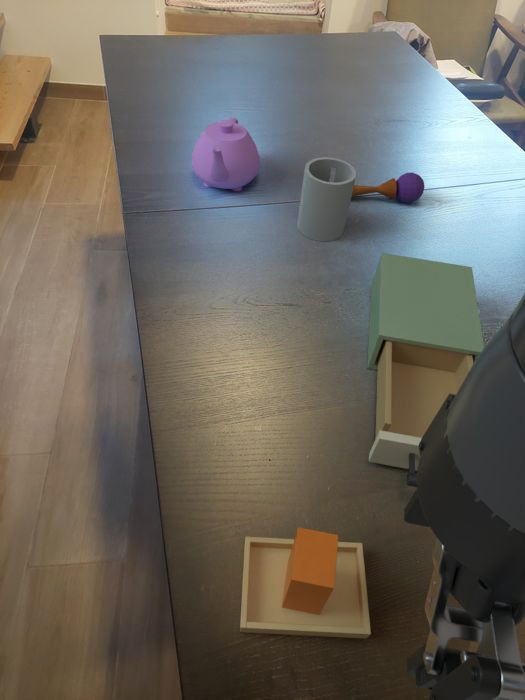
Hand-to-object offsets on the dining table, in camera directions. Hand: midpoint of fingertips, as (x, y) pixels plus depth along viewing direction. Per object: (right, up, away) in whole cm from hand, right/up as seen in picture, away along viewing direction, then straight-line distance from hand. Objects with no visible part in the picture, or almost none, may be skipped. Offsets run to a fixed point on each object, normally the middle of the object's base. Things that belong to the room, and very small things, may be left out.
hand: (422, 588), depth 30 cm
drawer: (+12, +4, +39) cm, 41 cm away
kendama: (+14, +45, +77) cm, 90 cm away
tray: (-5, -12, +25) cm, 29 cm away
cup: (+2, +38, +69) cm, 79 cm away
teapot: (-17, +50, +78) cm, 94 cm away
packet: (-5, -12, +25) cm, 28 cm away
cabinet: (+15, +17, +52) cm, 57 cm away
